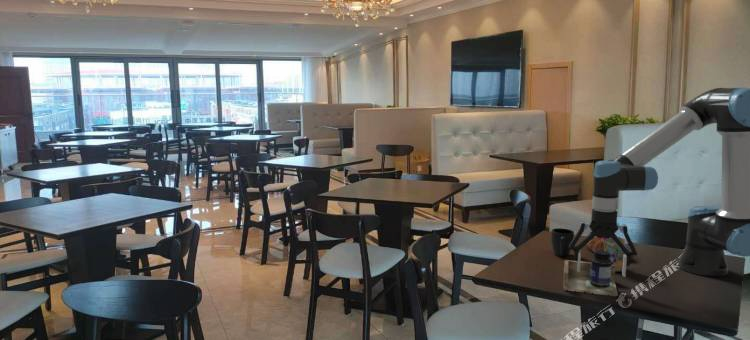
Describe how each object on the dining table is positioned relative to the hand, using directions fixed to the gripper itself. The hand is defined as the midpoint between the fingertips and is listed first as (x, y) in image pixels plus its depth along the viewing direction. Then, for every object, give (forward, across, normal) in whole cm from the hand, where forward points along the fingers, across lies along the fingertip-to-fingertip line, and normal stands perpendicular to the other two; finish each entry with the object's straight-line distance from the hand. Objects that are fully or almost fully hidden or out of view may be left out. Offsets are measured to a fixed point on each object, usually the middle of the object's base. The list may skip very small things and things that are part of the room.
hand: (600, 273), depth 174 cm
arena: (+5, +3, 0) cm, 6 cm away
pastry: (+6, -5, -39) cm, 40 cm away
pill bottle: (+4, 0, 0) cm, 4 cm away
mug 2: (+5, -6, -22) cm, 24 cm away
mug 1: (+5, +12, -30) cm, 33 cm away
